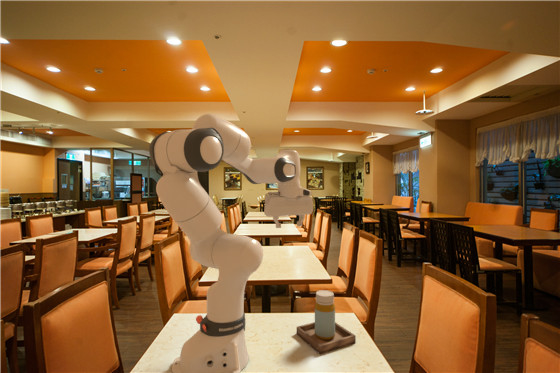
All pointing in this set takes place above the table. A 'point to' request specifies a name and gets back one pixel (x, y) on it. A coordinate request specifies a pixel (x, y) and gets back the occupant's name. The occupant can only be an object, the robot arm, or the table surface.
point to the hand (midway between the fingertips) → (289, 227)
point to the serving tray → (322, 346)
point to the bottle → (324, 315)
